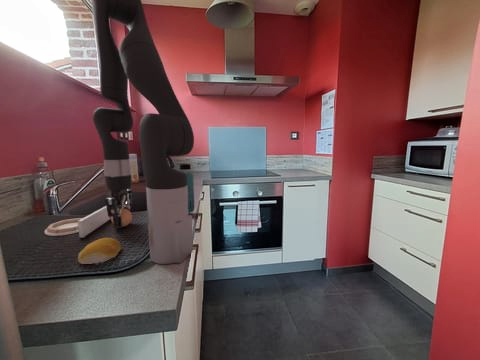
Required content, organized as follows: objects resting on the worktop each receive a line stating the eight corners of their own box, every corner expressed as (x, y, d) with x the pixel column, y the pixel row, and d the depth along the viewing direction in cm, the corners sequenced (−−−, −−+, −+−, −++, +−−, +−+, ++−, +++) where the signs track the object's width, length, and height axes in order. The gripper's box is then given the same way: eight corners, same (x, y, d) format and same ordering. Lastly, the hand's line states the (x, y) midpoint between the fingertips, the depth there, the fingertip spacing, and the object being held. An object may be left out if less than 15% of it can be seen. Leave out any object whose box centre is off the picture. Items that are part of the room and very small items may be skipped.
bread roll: (124, 246, 57) (123, 232, 57) (113, 264, 49) (111, 247, 48) (90, 249, 56) (88, 234, 55) (71, 268, 47) (69, 251, 46)
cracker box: (133, 181, 160) (131, 153, 157) (139, 182, 158) (137, 154, 154) (115, 184, 148) (113, 154, 145) (121, 185, 145) (118, 154, 142)
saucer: (100, 223, 73) (100, 219, 73) (64, 237, 62) (63, 232, 62) (74, 220, 76) (73, 216, 76) (34, 233, 65) (33, 228, 65)
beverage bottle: (182, 211, 88) (180, 162, 85) (197, 212, 86) (196, 163, 83) (174, 216, 81) (172, 164, 78) (190, 217, 80) (189, 164, 77)
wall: (107, 219, 78) (105, 206, 77) (109, 219, 78) (108, 205, 77) (79, 237, 62) (77, 221, 61) (83, 237, 62) (81, 221, 61)
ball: (136, 224, 73) (135, 207, 72) (122, 230, 67) (121, 212, 66) (122, 222, 74) (120, 205, 74) (107, 228, 69) (105, 210, 68)
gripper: (116, 171, 75) (119, 217, 77) (92, 177, 61) (98, 233, 63) (138, 171, 76) (141, 216, 78) (120, 176, 62) (125, 232, 64)
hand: (122, 224), depth 71 cm, fingers closed on ball, 6 cm apart
